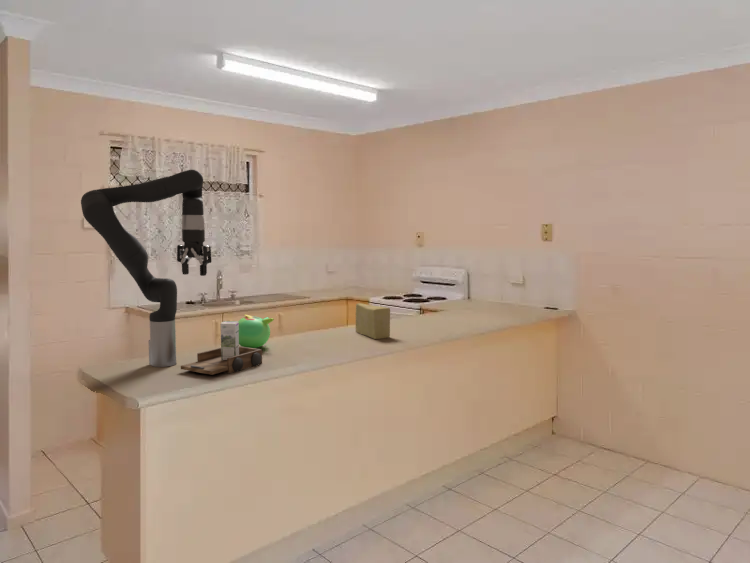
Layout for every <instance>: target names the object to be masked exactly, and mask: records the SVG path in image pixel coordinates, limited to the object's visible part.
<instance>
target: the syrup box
mask: <svg viewBox="0 0 750 563" xmlns="http://www.w3.org/2000/svg"><path fill="white" fill-rule="evenodd" d="M238 321H239V320H231V321H230V320H229V321H228V320H223V321H222V322H220V348H221V360H224V361H227V358H229V357H233V356H237V355H239V346H240V345H239V322H238Z"/></svg>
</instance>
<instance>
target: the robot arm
mask: <svg viewBox="0 0 750 563" xmlns="http://www.w3.org/2000/svg"><path fill="white" fill-rule="evenodd" d="M203 184H204V177H203V174H202V173H201V172H200V171H198V170H196V169H187V170H183V171H181V172H178V173H175V174H172V175H170V176H164V177H161V178H156V179H152V180H149V181H144V182H141V183H137V184H129V185H124V186H116V187H105V188H98V189H93V190H89V191H87V192H85V193H84V194H83V195H82V197H81V200H80V205H81V212H82V216H83V217H84V219H85V221H86V222H88V224H89V225H90V226H91V227H92V228H93V229H94V230H95V231H96V232H97V233H98V234H100V236H101V237H102V238H103V239H104V241H105V242H106V243H107V245H108V248H110V250H111V251H112V253H113V254H114V255H115V257H116V258H117V259H118V260H119V262H120V263H121V265H122V266H124V268H125V269H126V271H128V273H129V274H130V276H131V277H132V278H133V280H134V281H135V283H136V284H137V286H138V288H139V289H140V292H142V294H143V296H144V297H145V299H146V300H148V301H149V302H152V303H159V308H158V309H157V310H154V311H152V312H150V314H149V340H148V364H149V365H150V366H151V367H155V368H165V367H171V366H175V365H177V340H176V339H177V337H176V336H177V335H176V332H177V330H176V314H177V310H178V308H177V306H178V286H177V284H176V281H175V280H174V279H172V278H164V277H163V278H161V277H155V276H154V275H153V274H152V273H151V272H150V270H149V268H148V265H149V264H148V263H149V256H148V252H147V251H146V249H145V247H144V246H143V245H142V243H141V242H140V240H139V239H138V238H137V237H136V236H134V235H133V234H132V233H131V232H129V231H128V230H127V229H126V228H124V226H123V225H122V223H121V221H120V220H119V218H118V217H117V214H116V212H115V210H114V207H115V206H118V205H123V204H125V203H126V204H127V203H156V202H159V201H162V200H166V199H170V198H172V197H175V196H178V195H180V194H181V195H182V202H181V205H182V206H181V210H182V214H181V216H182V217H181V240H182V242H183V243H184V244H178V245H177V246H176V247H177V248H176V262H178V263H180V264H181V273H182V275H189V273H190V270H189V268H190V267H189V266H190V265H189V262H190V260H192V258H193V259H194V258H195V259H196V260H197V261H198V263H199V264H200V265H199V275H200V276H204V277H205V276H207V273H208V269H207V268H208V267H207V266H208V264H211V263H212V249H211V247H212V246H211V245H204V242H206V239H205V238H206V232H205V230H206V229H205V228H206V227H205V224H206V223H205V218H204V217H205V216H204V211H205V210H204V201H203Z"/></svg>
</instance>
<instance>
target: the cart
mask: <svg viewBox="0 0 750 563" xmlns="http://www.w3.org/2000/svg"><path fill="white" fill-rule="evenodd" d="M196 357H197V359H196V360H197V362H203V363H209V364H215V365H221V366H227V367H228V370H226V371H223V372H222V373H224V372H225V374H233V373H236V372H241V370H245V369H248V367H249V368H252V367H257V366H256V365H258V366H259V365H261V364H260V363H262V364H263V349H262V348H261V349H260V348H248V347H243V346H241V345H239V355H237V356H233V357H229V358H227V361H224V360H221V347H218V348H214V349H209V350H206V351H202V352H198V353H197V355H196ZM251 366H252V367H251Z"/></svg>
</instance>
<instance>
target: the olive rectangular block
mask: <svg viewBox="0 0 750 563" xmlns="http://www.w3.org/2000/svg"><path fill="white" fill-rule="evenodd" d="M355 333H358V334H360V335H363V336H366V337H368V338H371V339H373V340H382V339H388V338H390V336H391V308H389V307H385V306H379V305H371V304H365V303H361V302H359V303H356V304H355Z"/></svg>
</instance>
